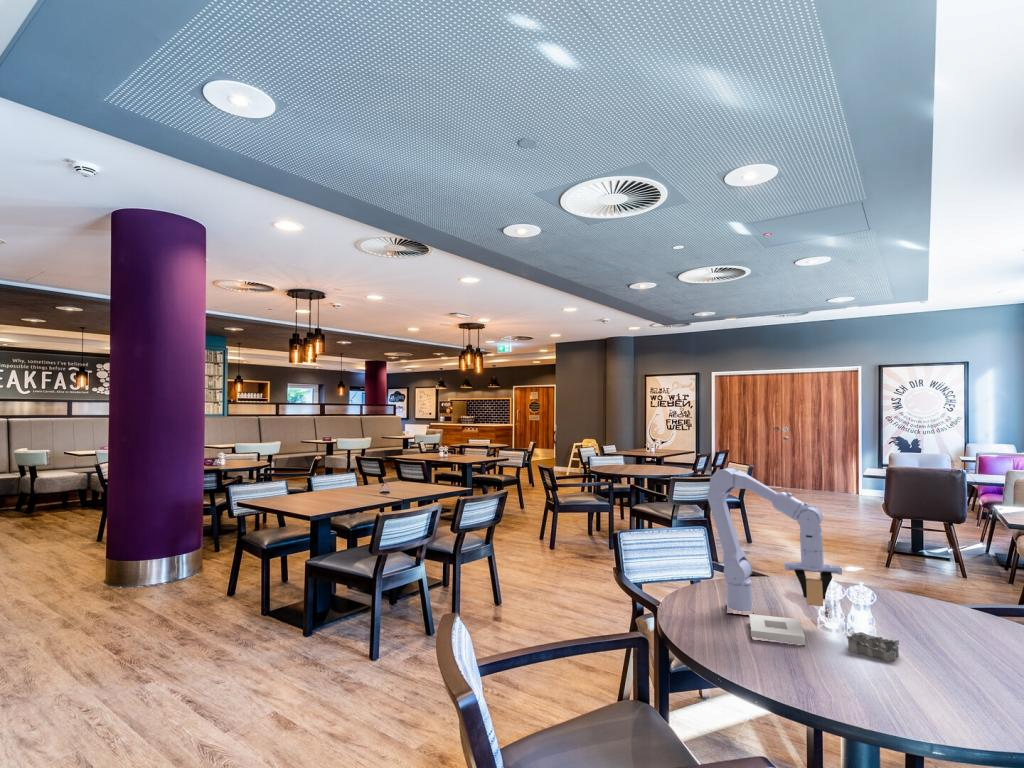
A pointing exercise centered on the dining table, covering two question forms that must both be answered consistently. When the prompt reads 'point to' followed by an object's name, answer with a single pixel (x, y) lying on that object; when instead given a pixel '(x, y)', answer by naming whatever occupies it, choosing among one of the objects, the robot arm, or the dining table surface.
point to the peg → (814, 591)
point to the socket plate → (787, 633)
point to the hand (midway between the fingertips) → (814, 597)
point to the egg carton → (866, 643)
